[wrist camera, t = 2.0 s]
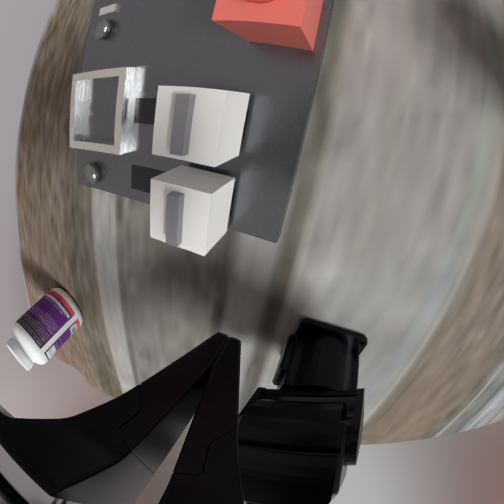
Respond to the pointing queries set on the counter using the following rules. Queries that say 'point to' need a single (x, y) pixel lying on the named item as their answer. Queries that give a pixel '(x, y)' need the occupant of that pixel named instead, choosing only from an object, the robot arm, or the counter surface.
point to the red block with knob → (271, 20)
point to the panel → (191, 75)
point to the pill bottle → (44, 328)
